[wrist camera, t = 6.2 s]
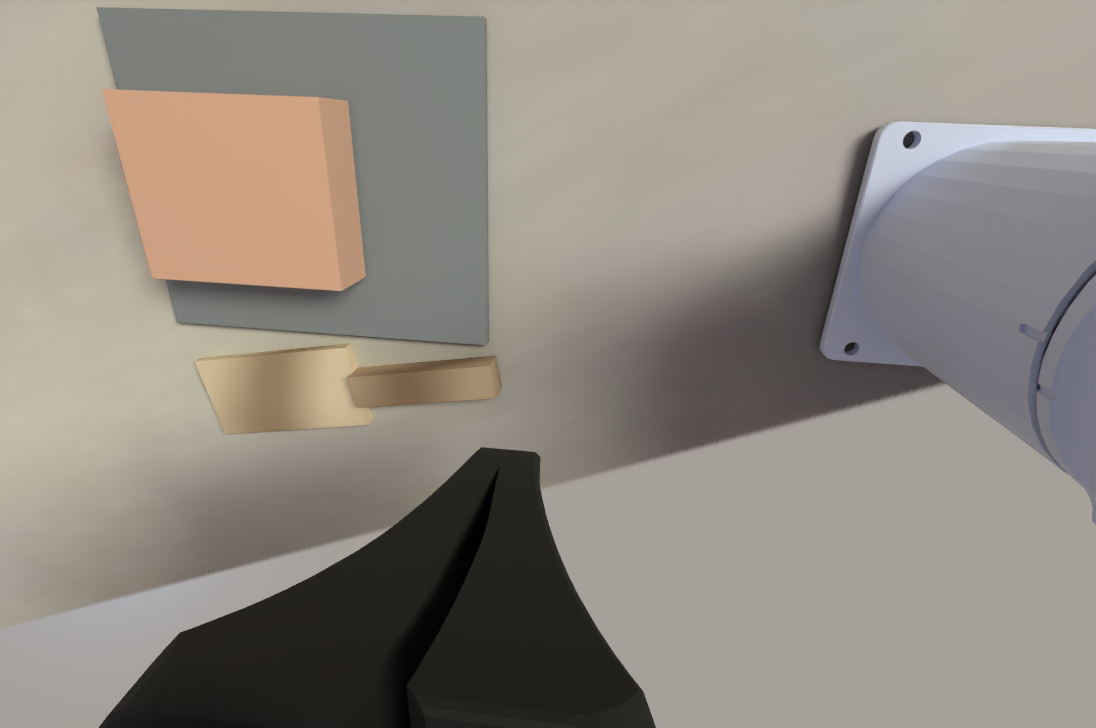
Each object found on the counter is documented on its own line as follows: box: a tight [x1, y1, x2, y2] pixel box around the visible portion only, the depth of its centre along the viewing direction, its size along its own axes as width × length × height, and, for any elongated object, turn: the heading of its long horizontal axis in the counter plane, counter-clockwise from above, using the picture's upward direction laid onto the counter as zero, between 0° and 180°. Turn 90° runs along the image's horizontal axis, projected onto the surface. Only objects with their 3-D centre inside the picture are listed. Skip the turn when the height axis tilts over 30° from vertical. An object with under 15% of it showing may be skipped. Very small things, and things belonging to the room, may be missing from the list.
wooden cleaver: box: [194, 344, 501, 434], centre depth 22 cm, size 13×4×1 cm, turn 98°
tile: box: [102, 89, 366, 291], centre depth 18 cm, size 2×6×7 cm
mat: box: [96, 7, 489, 345], centre depth 20 cm, size 13×11×1 cm
